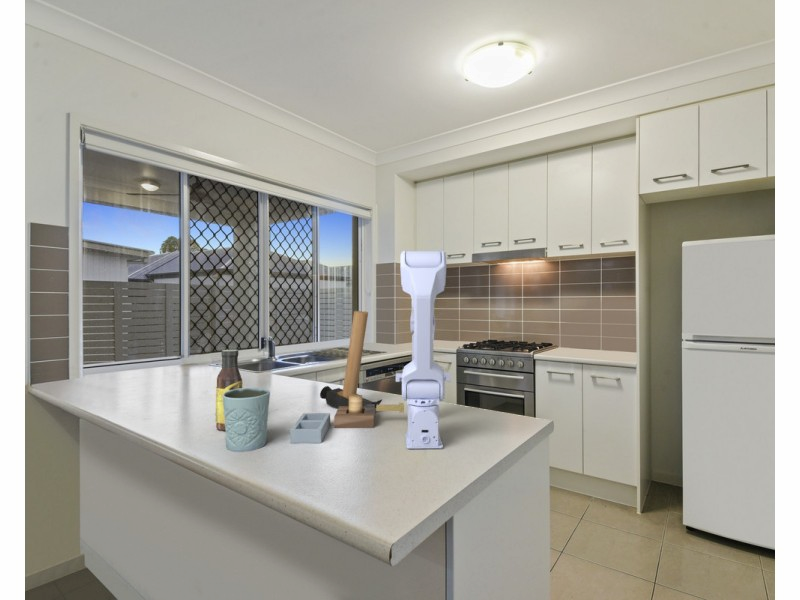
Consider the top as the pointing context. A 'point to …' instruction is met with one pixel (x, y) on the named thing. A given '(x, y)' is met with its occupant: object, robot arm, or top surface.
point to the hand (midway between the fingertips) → (422, 408)
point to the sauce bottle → (226, 383)
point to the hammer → (350, 366)
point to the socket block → (355, 417)
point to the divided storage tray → (310, 428)
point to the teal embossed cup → (246, 418)
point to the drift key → (391, 408)
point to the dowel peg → (355, 404)
